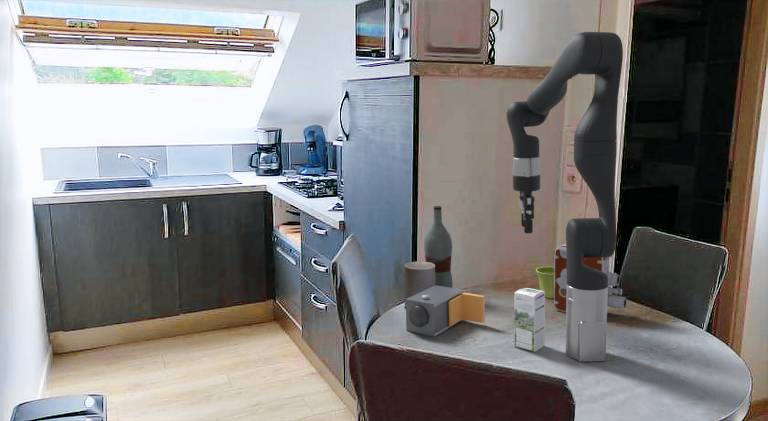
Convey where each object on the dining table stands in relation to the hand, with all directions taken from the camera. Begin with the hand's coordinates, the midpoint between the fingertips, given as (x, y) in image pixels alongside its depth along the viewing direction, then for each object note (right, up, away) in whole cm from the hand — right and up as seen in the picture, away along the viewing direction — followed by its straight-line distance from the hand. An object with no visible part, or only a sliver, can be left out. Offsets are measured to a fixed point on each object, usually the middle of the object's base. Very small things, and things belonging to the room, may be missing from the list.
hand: (526, 229), depth 162 cm
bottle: (-23, -23, +26) cm, 42 cm away
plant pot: (+13, -23, +22) cm, 35 cm away
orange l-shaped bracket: (-18, -26, -4) cm, 32 cm away
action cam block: (-26, -27, -2) cm, 38 cm away
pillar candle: (-29, -25, +14) cm, 41 cm away
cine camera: (+20, -25, +5) cm, 32 cm away
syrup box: (-4, -29, -19) cm, 35 cm away
